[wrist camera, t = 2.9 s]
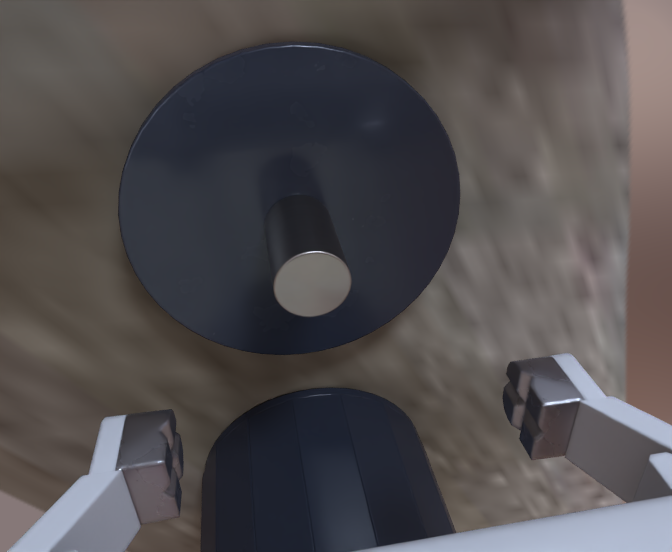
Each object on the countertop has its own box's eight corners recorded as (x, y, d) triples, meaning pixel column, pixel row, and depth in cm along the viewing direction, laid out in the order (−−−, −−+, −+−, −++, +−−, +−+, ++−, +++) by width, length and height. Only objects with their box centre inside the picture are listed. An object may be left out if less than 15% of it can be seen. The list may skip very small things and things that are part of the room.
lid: (46, 133, 19) (-5, 202, 14) (394, -29, 18) (450, -8, 13) (224, 376, 25) (225, 473, 21) (480, 267, 25) (536, 344, 20)
